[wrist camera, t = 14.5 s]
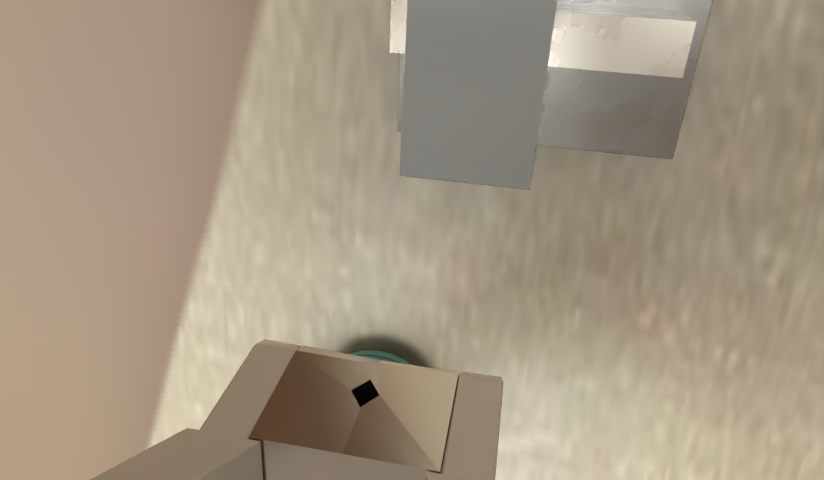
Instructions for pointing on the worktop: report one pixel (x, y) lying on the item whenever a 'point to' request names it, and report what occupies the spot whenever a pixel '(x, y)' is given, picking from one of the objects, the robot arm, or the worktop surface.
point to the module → (474, 89)
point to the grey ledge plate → (609, 73)
